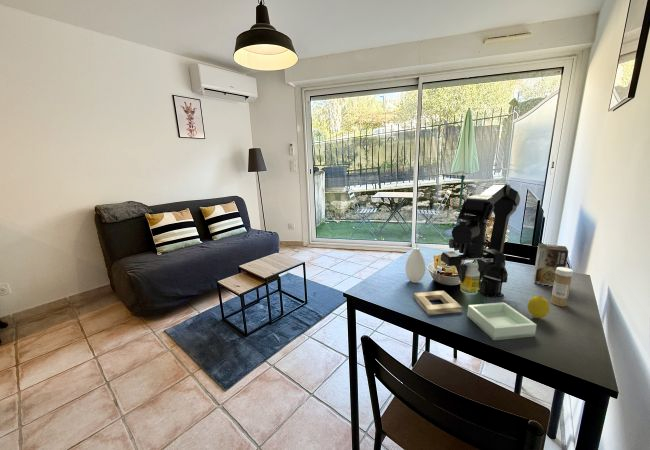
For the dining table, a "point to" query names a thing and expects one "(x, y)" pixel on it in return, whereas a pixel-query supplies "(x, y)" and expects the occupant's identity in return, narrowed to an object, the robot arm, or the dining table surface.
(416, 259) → the sauce bottle
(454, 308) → the socket block
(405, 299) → the dining table surface
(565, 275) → the sprinkles bottle
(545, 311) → the lemon
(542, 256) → the coffee box
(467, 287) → the supplement bottle
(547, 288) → the dining table surface
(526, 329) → the tray
